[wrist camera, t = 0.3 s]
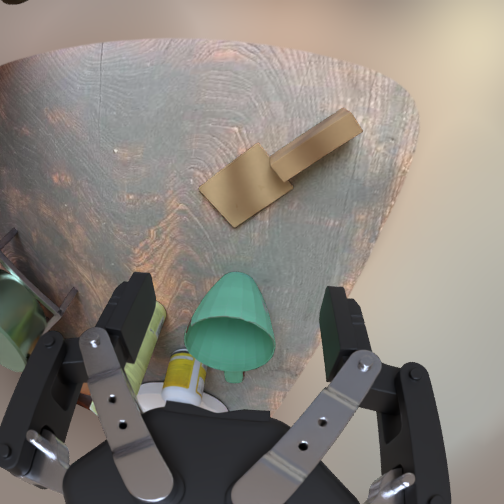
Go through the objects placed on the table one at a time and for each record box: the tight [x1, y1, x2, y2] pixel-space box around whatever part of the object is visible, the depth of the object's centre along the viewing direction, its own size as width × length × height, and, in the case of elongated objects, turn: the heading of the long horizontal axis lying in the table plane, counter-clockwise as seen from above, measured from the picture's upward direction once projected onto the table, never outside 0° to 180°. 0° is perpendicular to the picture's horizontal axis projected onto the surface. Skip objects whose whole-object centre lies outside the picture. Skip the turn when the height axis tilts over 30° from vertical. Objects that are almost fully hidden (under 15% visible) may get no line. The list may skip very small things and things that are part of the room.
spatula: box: [198, 108, 363, 228], centre depth 29 cm, size 17×6×3 cm, turn 128°
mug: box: [184, 272, 275, 383], centre depth 37 cm, size 15×10×10 cm
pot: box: [0, 228, 78, 372], centre depth 36 cm, size 16×15×16 cm
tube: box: [90, 301, 166, 416], centre depth 35 cm, size 6×5×20 cm
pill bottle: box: [161, 349, 207, 407], centre depth 45 cm, size 6×6×12 cm
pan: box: [137, 382, 228, 413], centre depth 60 cm, size 24×27×4 cm
